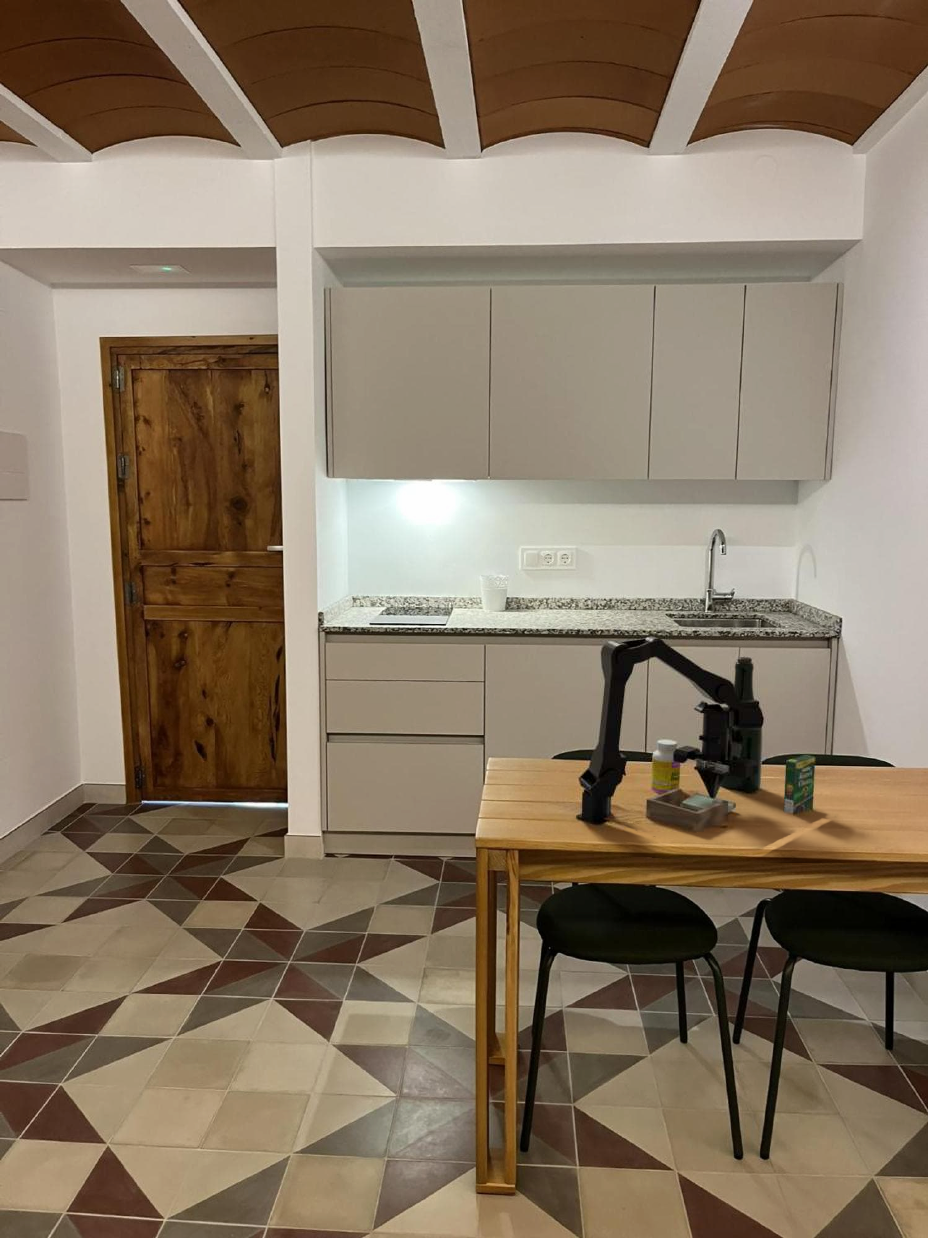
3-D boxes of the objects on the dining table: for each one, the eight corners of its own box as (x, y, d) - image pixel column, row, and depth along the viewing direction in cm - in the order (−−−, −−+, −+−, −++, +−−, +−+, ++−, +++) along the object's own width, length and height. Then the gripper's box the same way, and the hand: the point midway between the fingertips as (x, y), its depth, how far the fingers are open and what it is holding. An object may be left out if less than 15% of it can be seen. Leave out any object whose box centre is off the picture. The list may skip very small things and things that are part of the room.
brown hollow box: (697, 836, 192) (698, 814, 191) (645, 821, 201) (646, 799, 201) (727, 823, 200) (728, 801, 200) (676, 809, 210) (677, 788, 209)
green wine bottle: (755, 797, 219) (762, 662, 214) (711, 790, 224) (717, 658, 220) (764, 786, 228) (771, 656, 224) (722, 779, 233) (727, 652, 229)
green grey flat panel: (721, 813, 201) (735, 803, 205) (681, 802, 208) (696, 792, 212) (721, 817, 201) (735, 807, 205) (682, 806, 208) (696, 796, 212)
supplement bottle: (671, 799, 216) (673, 747, 215) (646, 794, 220) (648, 742, 219) (683, 792, 222) (685, 741, 220) (658, 787, 226) (660, 737, 224)
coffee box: (793, 819, 204) (796, 762, 202) (781, 815, 206) (784, 759, 204) (813, 812, 208) (816, 756, 207) (802, 809, 211) (805, 753, 209)
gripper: (771, 732, 204) (768, 800, 206) (699, 718, 218) (696, 781, 220) (746, 741, 197) (742, 811, 199) (672, 725, 210) (670, 791, 212)
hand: (712, 797), depth 208 cm, fingers closed
